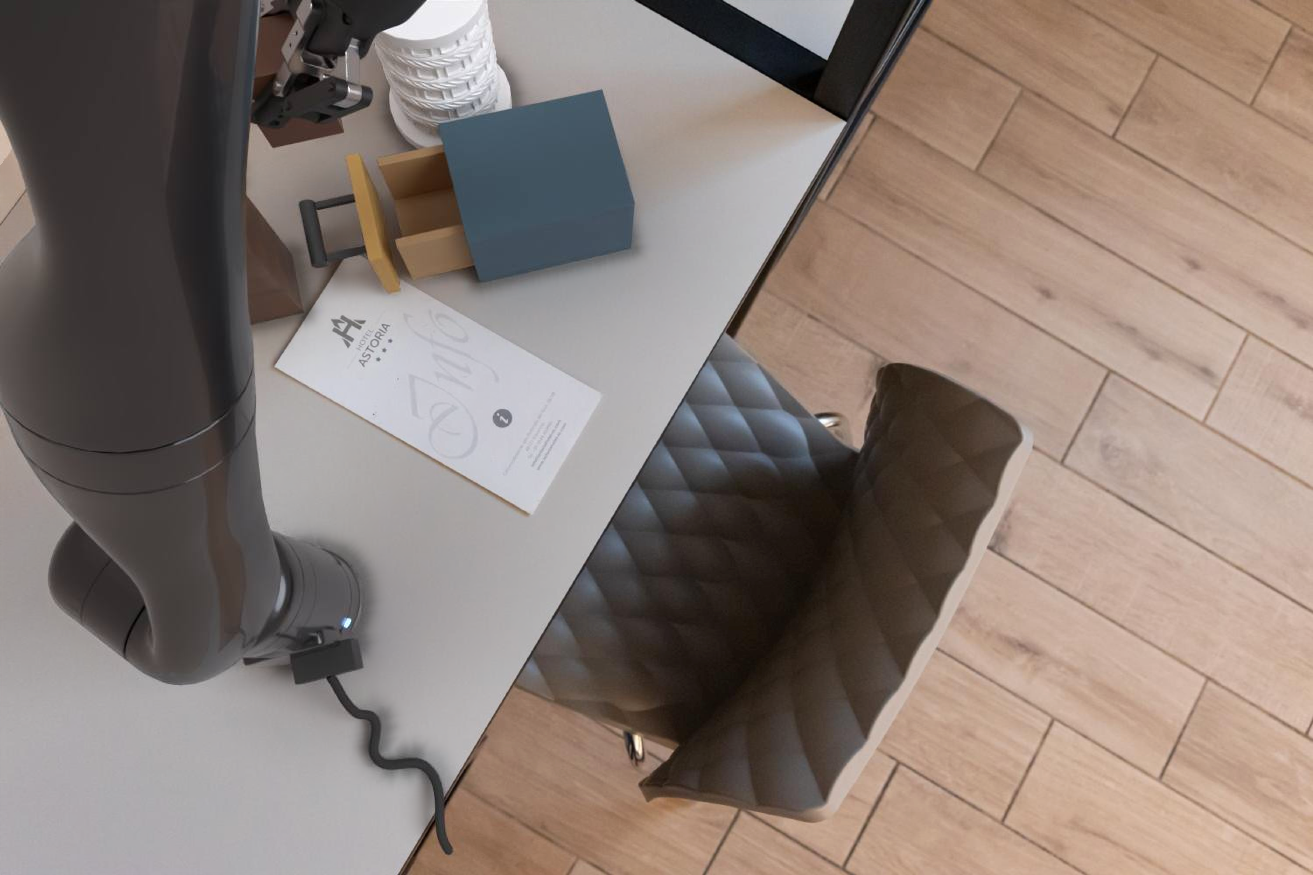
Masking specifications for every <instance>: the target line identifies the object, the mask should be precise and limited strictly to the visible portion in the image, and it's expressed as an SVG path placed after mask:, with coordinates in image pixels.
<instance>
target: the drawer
mask: <svg viewBox="0 0 1313 875" xmlns="http://www.w3.org/2000/svg"><path fill="white" fill-rule="evenodd" d="M344 157H345V162H346V166H347V170H348V174H349V179H350V183H351V184H350V185H351V188H352V192H353V193H350V194H345V195H341V196H336V197H331V198H327V199H321V200H318V201H315V200H314V199H311V198H310V199H309V198H307V199H303V200H300V201H299V202H298V208H299V214H300V218H301V223H302V227H303V228H302V229H303V232H304V237H305V242H306V246H307V251H308V256H309V260H310V265H311V267H312V268H314V269H324V268H326V267H327V266H329V263H332V262H336V261H340V260H345V259H350V258H354V257H359V256H363V255H367V256H366V257H367V259H368V263H369V264H370V266H371V267H372V270H374V272H375V274H376V276H377V278H378V279H379V281H380V282H381V284H382V286H383V288H384V289H385V291H386V293H387V294H388V295H390V294H394V293H399V292H401V291H402V289H401V284H400V280H399V276H398V272H397V267H396V263H395V258H394V255H393V251H392V250H393V249H392V245H391V241H390V236H389V233H388V228H387V224H386V219H385V214H384V210H383V206H382V202H381V198H380V194H379V192H378V189H377V188H376V186H375V183H374V182H373V179H372V177H371V175H370V173H369V170H368V168H367V166H366V165H365V162H364V161H363V159H362V156H361V155H360V153H359V152H357V153H353V154H349V155H345V156H344ZM376 163H377V167H378V169H379V171H380V173H381V175H382V178H383V180H384V183H385V185H386V187H387V189H388V191H389V193H390V196H391V197H392V199H393V204H394V208H395V212H396V216H397V220H398V225H399V228H400V234H401V237H398V238H395V239H394V240H395V245H396V248H397V251H398V253H399V254H400V256H401V259H402V260H403V261H402V262H404V264H405V267H406V269H407V271H408V273H409V274H410V276H411V279H412V280H416V279H417V280H418V279H421V278H425V277H431V276H434V275H438V274H443V273H447V272H451V271H456V270H460V269H465V268H468V267H475V265H474V262H473V259H472V256H471V253H470V250H469V247H468V244H467V240H466V236H465V232H464V228H463V224H462V220H461V216H460V212H459V208H458V204H457V200H456V196H455V192H454V188H453V184H452V180H451V175H450V171H449V167H448V163H447V159H446V155H445V151H444V147H443V144H442V145H437V146H432V147H428V148H423V149H414V150H409V151H405V152H401V153H400V152H399V153H396V154H390V155H386V156H381V157H378V158H376ZM354 203H355V205H356V210H357V216H358V219H359V224H360V229H361V233H362V238H363V242H364V245H358V246H355V247H349V248H346V249H341V250H337V251H333V252H326V247H325V242H324V237H323V232H322V227H321V223H320V219H319V214H318V213H319V212H318V211H323V210H328V209H332V208H338V207H340V206H341V207H342V206H346V205H350V204H354Z"/></svg>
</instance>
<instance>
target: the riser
mask: <svg viewBox="0 0 1313 875" xmlns="http://www.w3.org/2000/svg"><path fill="white" fill-rule="evenodd" d="M246 231H247V285H248V305H249V314H250V323H251V326H252V325H256V324H261V323H265V322H269V321H273V320H277V319H278V320H279V319H282V318H286V317H291V316H295V315H300V314H303V313H304V307H303V301H302V297H301V292H300V288H299V282H298V278H297V273H296V268H295V263H294V259H293V254H292V252H291V251H290V249H289V248H288V247H287V245H286V244H285V243H284V242H283V240H282V239H281V238H280V236H279V235H278V234H277V232H275V230H274V229H273V227H272V226H271V225H270V224H269V222H268V221H267V219H266V218H265V217H264V216H263V214H262V213H261V212H260V211H259V209H258V208H257V206H256V205H255V204H254V202H252V200H251V199H250V197H249V196H248V195H247V194H246Z"/></svg>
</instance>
